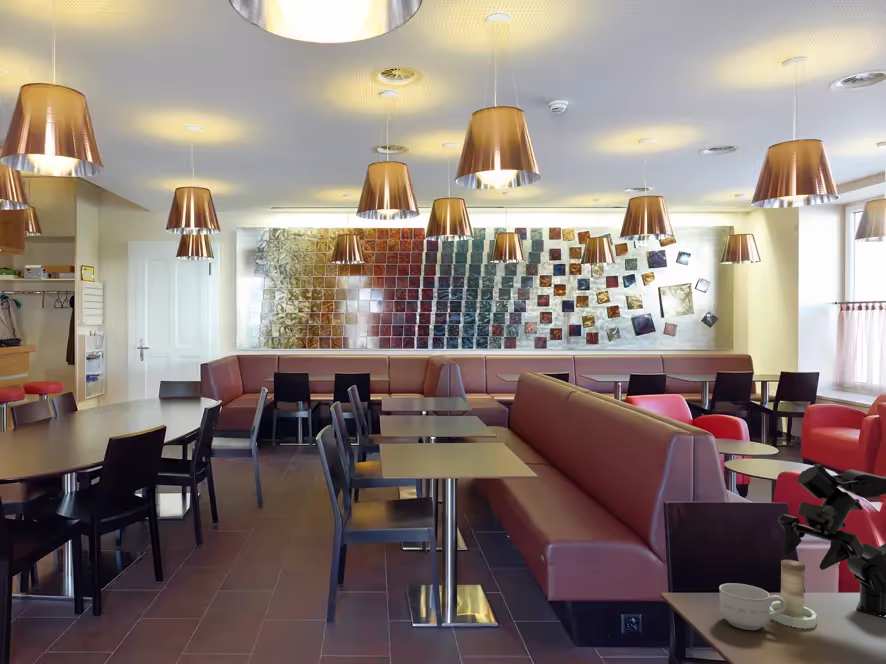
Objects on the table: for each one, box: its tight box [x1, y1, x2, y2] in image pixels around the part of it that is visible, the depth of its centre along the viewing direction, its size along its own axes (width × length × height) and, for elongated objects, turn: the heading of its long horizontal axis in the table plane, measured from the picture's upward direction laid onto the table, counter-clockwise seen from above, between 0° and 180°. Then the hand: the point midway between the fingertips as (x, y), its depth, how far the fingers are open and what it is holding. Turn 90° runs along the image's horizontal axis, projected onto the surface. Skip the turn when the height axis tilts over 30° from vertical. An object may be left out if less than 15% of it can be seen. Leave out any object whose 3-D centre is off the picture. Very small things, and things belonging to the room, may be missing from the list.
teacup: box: [718, 582, 786, 631], centre depth 142 cm, size 14×11×8 cm
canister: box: [780, 559, 806, 618], centre depth 147 cm, size 5×5×12 cm
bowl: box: [770, 600, 818, 630], centre depth 147 cm, size 10×10×2 cm
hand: (802, 562), depth 148 cm, fingers open, 9 cm apart
